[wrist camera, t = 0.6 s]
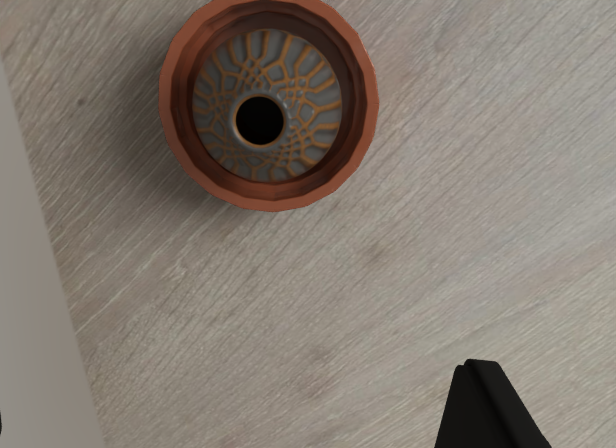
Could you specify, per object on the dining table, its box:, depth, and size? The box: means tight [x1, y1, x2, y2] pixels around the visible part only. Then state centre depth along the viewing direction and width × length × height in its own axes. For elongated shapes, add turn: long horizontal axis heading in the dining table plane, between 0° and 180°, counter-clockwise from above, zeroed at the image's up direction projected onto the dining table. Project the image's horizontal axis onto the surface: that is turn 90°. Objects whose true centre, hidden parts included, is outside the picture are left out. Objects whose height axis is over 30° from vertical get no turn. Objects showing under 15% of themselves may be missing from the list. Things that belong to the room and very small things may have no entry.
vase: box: [192, 28, 342, 182], centre depth 22 cm, size 7×7×9 cm
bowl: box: [158, 0, 379, 212], centre depth 25 cm, size 10×10×4 cm
